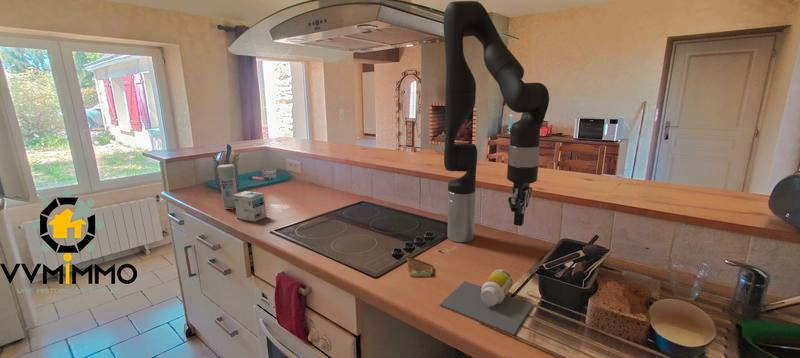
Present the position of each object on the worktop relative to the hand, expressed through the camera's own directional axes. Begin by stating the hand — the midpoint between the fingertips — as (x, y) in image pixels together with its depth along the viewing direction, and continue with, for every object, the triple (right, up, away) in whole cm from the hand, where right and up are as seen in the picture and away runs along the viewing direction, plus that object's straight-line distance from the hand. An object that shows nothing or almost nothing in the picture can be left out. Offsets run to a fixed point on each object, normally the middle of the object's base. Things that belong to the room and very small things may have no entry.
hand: (518, 224), depth 93 cm
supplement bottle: (-6, -13, -5) cm, 15 cm away
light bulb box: (-95, -4, +52) cm, 109 cm away
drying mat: (-12, -18, -11) cm, 24 cm away
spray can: (-111, -1, +66) cm, 129 cm away
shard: (-28, -15, +7) cm, 32 cm away
